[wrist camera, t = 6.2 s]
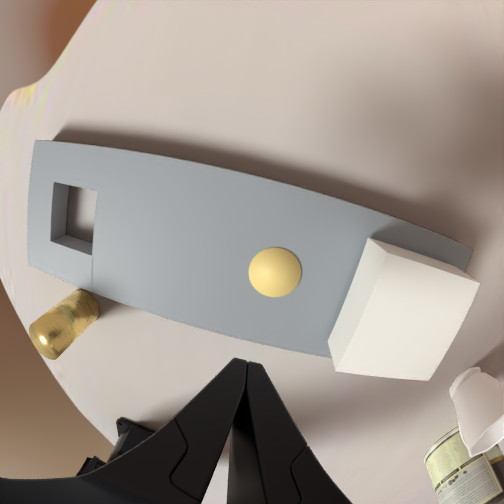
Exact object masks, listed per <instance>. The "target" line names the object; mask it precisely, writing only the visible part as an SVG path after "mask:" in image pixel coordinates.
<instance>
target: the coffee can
mask: <svg viewBox="0 0 504 504" xmlns="http://www.w3.org/2000/svg"><path fill="white" fill-rule="evenodd" d="M424 463H425V464H426V467H427V469H428V472H429V475H430V478H431V481H432V483H433V486H434V489H435V492H436V495H437V498H438V501H439V504H504V455H503V453H502V452H501V450H500V448H499V446H498V444H496V445H495V446H493V447H492V448H491V449H490V450H488V451H486V452H484V453H481V454H479V455H476V456H473V457H470V456H469V452H468V449H467V447H466V446H465V444H464V442H463V440H462V438H461V435H460V431H459V426H458V427H456V428H455V429H453V430H452V431H450V432H449V433H447V434H446V435H445V436H443V437H442V438H441V439H439V440H438V441H437V442H436V443H435V444H434V445H433V446H432V447H431V448H430V449H429V450H428V452H427V453H426V455H425V457H424Z"/></svg>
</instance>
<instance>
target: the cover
mask: <svg viewBox="0 0 504 504" xmlns="http://www.w3.org/2000/svg"><path fill="white" fill-rule="evenodd" d="M479 285H480V283H479V282H478V281H476V280H475V279H473V278H472V277H470V276H469V275H467V274H466V273H464V272H463V271H461V270H460V269H458V268H457V267H455V266H453V265H450V264H447V263H444V262H441V261H439V260H436V259H433V258H430V257H427V256H424V255H421V254H418V253H415V252H412V251H409V250H406V249H403V248H400V247H397V246H394V245H391V244H387V243H384V242H381V241H378V240H375V239H372V238H368V239H367V242H366V245H365V248H364V251H363V254H362V256H361V259H360V262H359V265H358V268H357V270H356V273H355V276H354V278H353V281H352V284H351V286H350V289H349V291H348V294H347V297H346V299H345V302H344V304H343V307H342V309H341V311H340V314H339V316H338V319H337V321H336V323H335V326H334V328H333V330H332V333H331V335H330V337H329V339H328V345H329V349H330V352H331V356H332V360H333V363H334V367H335V371H338V372H345V373H353V374H360V375H368V376H377V377H387V378H398V379H410V380H426V381H429V379H430V378H431V376H432V375H433V373H434V372H435V370H436V369H437V367H438V365H439V364H440V362H441V360H442V359H443V357H444V355H445V354H446V352H447V350H448V348H449V347H450V345H451V343H452V341H453V340H454V338H455V336H456V334H457V332H458V330H459V328H460V326H461V324H462V322H463V320H464V318H465V316H466V314H467V312H468V310H469V308H470V306H471V304H472V301H473V299H474V297H475V295H476V292H477V290H478V288H479Z"/></svg>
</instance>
